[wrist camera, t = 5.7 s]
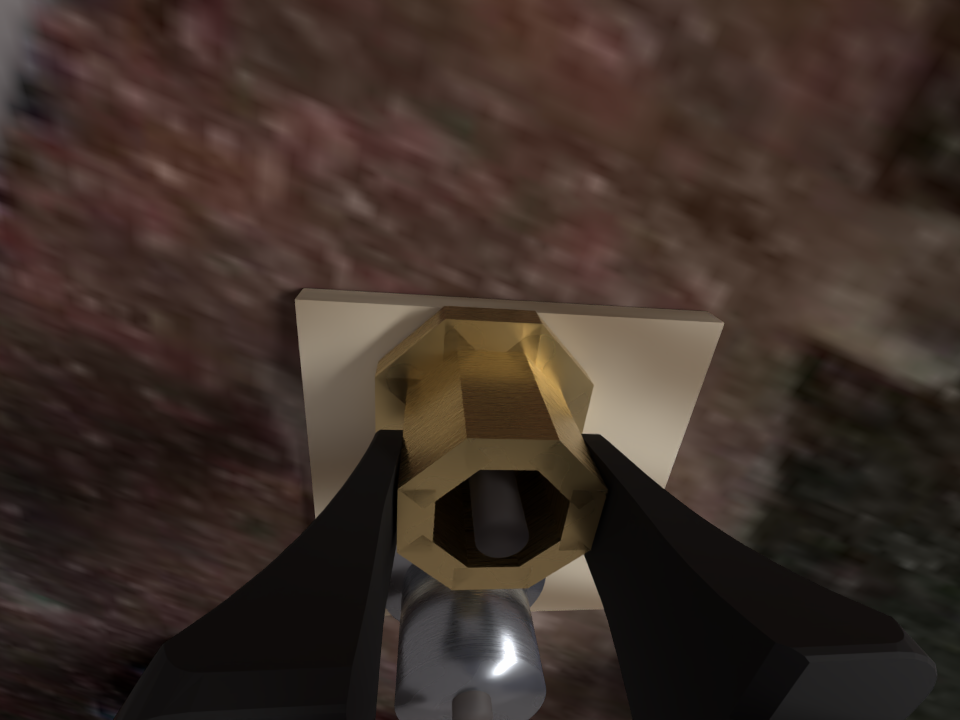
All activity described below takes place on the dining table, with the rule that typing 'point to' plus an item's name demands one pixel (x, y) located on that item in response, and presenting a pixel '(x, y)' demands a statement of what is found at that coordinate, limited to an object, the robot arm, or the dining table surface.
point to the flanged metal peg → (463, 646)
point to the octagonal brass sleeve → (489, 443)
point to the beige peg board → (494, 493)
